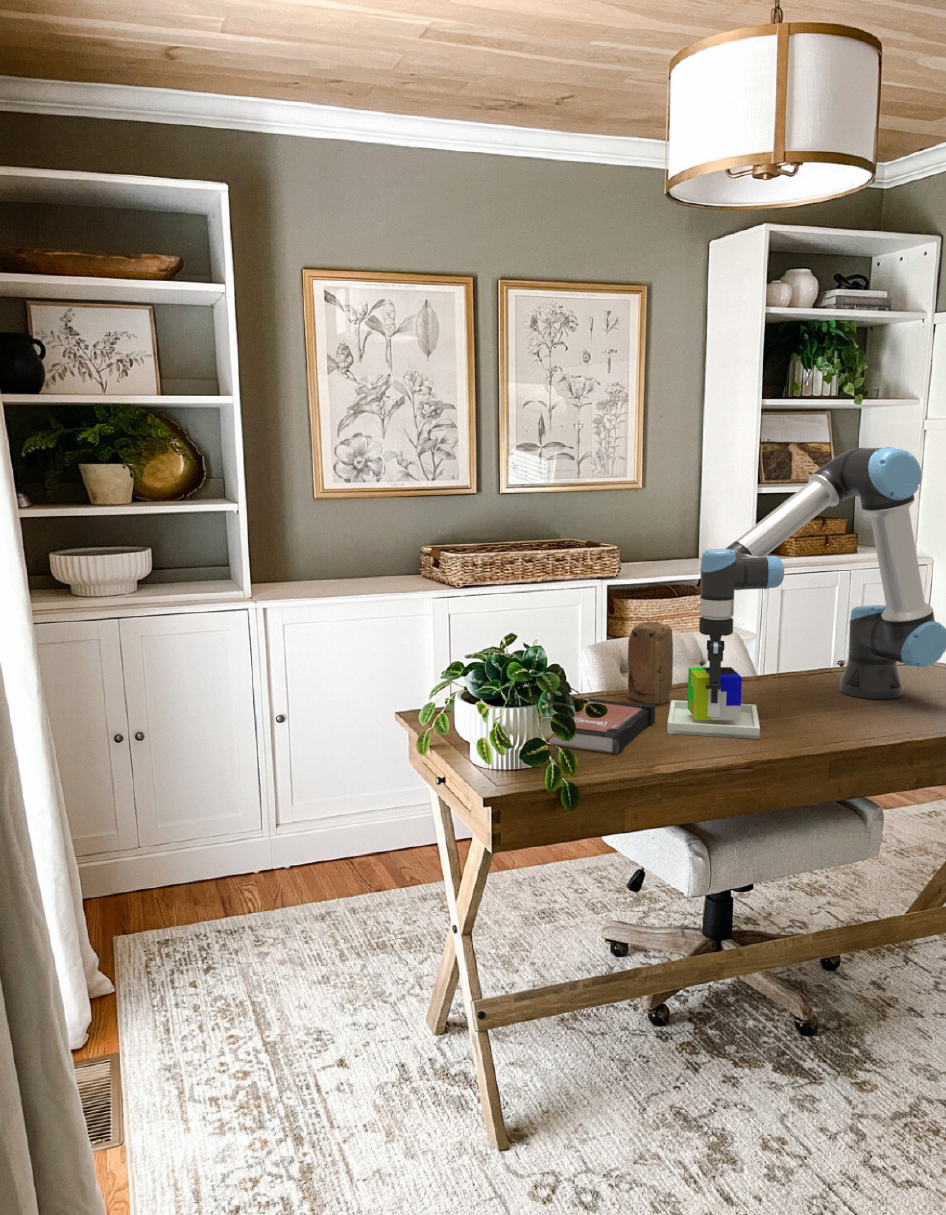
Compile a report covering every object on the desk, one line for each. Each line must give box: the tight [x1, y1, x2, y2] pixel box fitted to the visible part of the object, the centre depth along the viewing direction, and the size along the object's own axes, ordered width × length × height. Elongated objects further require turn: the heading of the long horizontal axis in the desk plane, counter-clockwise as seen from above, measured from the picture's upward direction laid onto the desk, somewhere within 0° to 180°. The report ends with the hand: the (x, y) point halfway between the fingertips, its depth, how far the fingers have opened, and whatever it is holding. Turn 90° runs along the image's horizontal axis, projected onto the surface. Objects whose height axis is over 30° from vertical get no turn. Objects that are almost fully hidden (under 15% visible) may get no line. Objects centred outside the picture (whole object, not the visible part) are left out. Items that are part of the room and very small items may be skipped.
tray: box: [666, 699, 761, 740], centre depth 221 cm, size 20×20×2 cm
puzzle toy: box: [687, 666, 743, 720], centre depth 220 cm, size 10×10×10 cm
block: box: [627, 621, 674, 705], centre depth 241 cm, size 11×8×20 cm
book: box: [549, 697, 656, 755], centre depth 215 cm, size 26×18×5 cm
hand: (713, 709), depth 221 cm, fingers closed on puzzle toy, 11 cm apart
